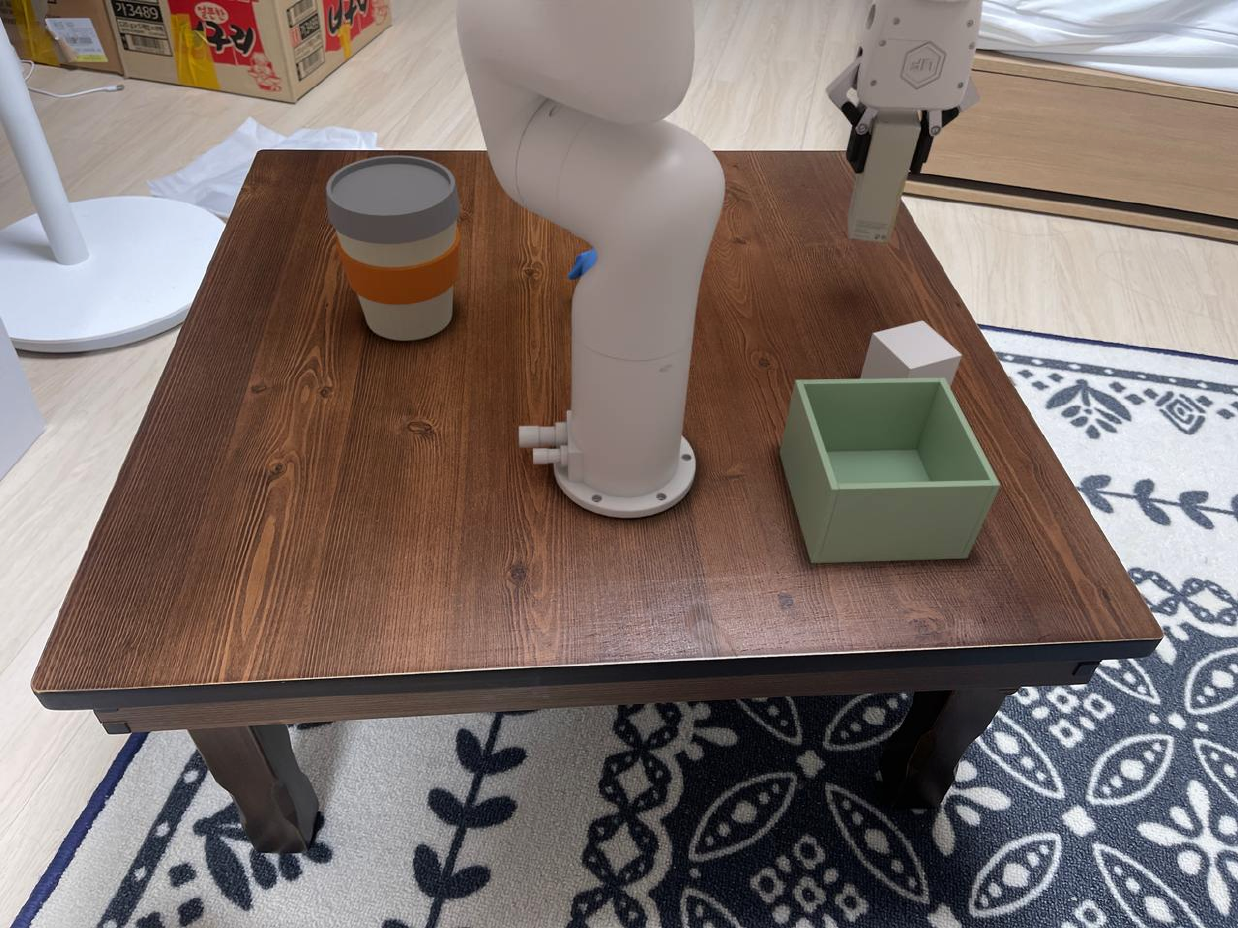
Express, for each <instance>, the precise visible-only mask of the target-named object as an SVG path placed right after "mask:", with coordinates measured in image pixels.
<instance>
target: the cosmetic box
mask: <svg viewBox="0 0 1238 928" xmlns="http://www.w3.org/2000/svg"><path fill="white" fill-rule="evenodd" d="M918 111H919V110H899V109H880V110H879V111H878V113H877V115H876V117H875V119H874V120H873V122H872V124H871V126H870V129H869V133H870V134H871V136H872V138H871V143H870V147H869V151H868V155H867V159H866V163H865V167H864V171H863V172H862V173H861V174H856V179H855V182H854V187H853V189H852V195H851V200H850V203H849V207H848V212H847V236H848V237H847V238H848V239H850V240H858V241H861V242H862V241H863V242H871V243H876V244H877V243H879V244H890V243H891V238H892V235H893V232H894V231H893V230H894V227H895V223H896V220H897V215H898V213H899V208H900V206H901V205H900V204H901V201H902V197H903V194H904V190H905V186H906V183H907V179H908V175H909V172H910V170H909V169H910V165H911V161H912V158H913V154H914V151H915V147H916V143H917V140H918V137H919V133H920V130H921V125H920V121H921V118H920V116H919V115H920V114H919V112H918Z"/></svg>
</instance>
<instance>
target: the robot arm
mask: <svg viewBox="0 0 1238 928" xmlns="http://www.w3.org/2000/svg"><path fill="white" fill-rule="evenodd" d="M983 2H984V0H872V3H871V4H870V8H869V10H868V12H867V15H866V18H865V20H864V23H863V27H862V30H861V33H860V37H859V40H858V43H857V46H856V50H855V52H854V53H855V54H854V56H853V57H854V58H853V61H852V62H851V63H850V64H849V65H847V67H846V68H845V69H844V70H843V71H842V72H841V73H840V74H839V75H838V76H836V78H835V79H834V80H833V81H832V82H830V83H829V84H828V85H827V87H826V88H825V94H826V96H827V97H828V99H829V100H830V102H832V104H834V106H835V107H836V108H837V109H838V110H839V111H840V112H841V113H842V114H843V115H844V117H845V118H846V119H847V121H848V123H849V124H850V125H851V129H850V134H849V137H848V143H847V146H846V151H845V159H846V161H847V162H848V163H849V165H850V167H851V169H852V170H853V172H854V174H855V175H857V174H861V173H862V172H863V171H864V167H865V163H866V159H867V155H868V151H869V147H870V143H871V138H872V136H871V134H870V133H869V129H870V126H871V124H872V122H873V120H874V119H875V117H876V115H877V113H878V111H879V110H880V109H899V110H917V111H920V114H919V115H920V125H921V130H920V133H919V137H918V140H917V143H916V147H915V151H914V154H913V158H912V161H911V165H910V169H909V172H910V173H911V174H912V175H913V176H919V175H920V174H921V172H922V169H923V165H924V164H926V163H927V162H928V160H929V156H930V153H931V149H932V146H933V142H934V139H935V137H938V136H939V135H940V134H941V133H942V130H943V128H945V127H946V126H947V125H948V124H950V123H951V122H953V121H954V120H955V119H957V117H959V115H960V114H961V113H964V112H965V111H966V110H968V109H969V108H971V107H973V106H974V105H976V104H977V103H978V102H979V101H980V94H979V92H978V90H977V88H976V86H975V84H974V81H973V79H972V77H971V73H972V68H973V64H974V59H975V55H976V50H977V45H978V40H979V33H980V27H981V22H982V21H981V20H982V12H983V5H984V4H983ZM456 29H457V37H458V45H459V47H460V52H461V56H462V61H463V65H464V69H465V73H466V77H467V80H468V85H469V89H470V93H471V95H472V99H473V104H474V108H475V110H476V114H477V118H478V123H479V126H480V130H481V133H482V136H483V140H484V144H485V147H486V152H487V155H488V158H489V161H490V164H491V168H492V171H493V173H494V175H495V177H496V179H497V181H498V183H499V185H500V186H501V188H502V190H503V191H504V192H505V194H506V195H507V196H508V197H509V198H510V199H511V200H512V201H514V203H516V204H518V205H519V206H521V207H522V208H524V209H525V210H527V211H529V212H531V213H533V214H535V215H536V216H538V217H540V218H542V219H544V220H546V221H548V222H550V223H552V224H554V225H556V226H557V227H560V228H561V229H564V230H565V231H567V232H569V233H571V234H572V235H574V236H575V237H577V238H579V239H581V240H583V241H585V242H586V243H588V245H590V246H591V247H592V248H594V249H595V251H596V255H597V259H596V263H595V264H594V265H593V266H592V267H591V268H590V269H589V270H588V271H587V272H586V273H585V274H584V275H583V276H582V277H581V276H580V278H579V280H578V282H577V283H576V285H575V289H574V291H573V293H572V301H571V384H570V385H571V393H570V394H571V395H570V397H571V398H570V399H571V401H570V402H571V403H570V404H571V407H570V409H568V410H566V421H556V422H555V424H554V426H540V425H519V426H518V448H519V449H531V448H532V465H548V464H553V474H554V478H555V480H556V482H557V483H556V484H557V485H558V487H559V488H560V489H561V491H562V492H563V493H564V495H566V496H567V497H568V498H569V499H570V500H571V501H572V502H574V503H575V504H577V505H578V506H580V507H581V508H583V509H585V510H588V511H590V512H593V513H594V514H597V515H602V516H606V517H611V518H621V519H633V518H634V519H635V518H636V519H637V518H642V517H648V516H653V515H655V514H660V513H662V512H664V511H666V510H668V509H670V508H671V507H673V506H675V505H677V504H678V503H679V502H681V500H683V499H684V498H685V496H686V495H687V494H688V493H689V491H690V490H691V488H692V486H693V483H694V480H695V474H696V467H697V463H696V456H695V452H694V450H693V448H692V446H691V444H690V442H689V441H688V440H687V439H686V438H685V437H684V436H683V427H684V419H685V409H686V402H687V392H688V385H689V376H690V367H691V358H692V350H693V342H694V333H695V322H696V313H697V306H698V300H699V299H698V298H699V293H700V286H701V281H702V277H703V276H702V275H703V271H704V268H705V265H706V261H707V256H708V253H709V250H710V247H711V245H712V240H713V237H714V236H715V235H714V234H715V232H716V229H717V225H718V223H719V221H720V217H721V214H722V210H723V206H724V202H725V201H724V200H725V196H726V179H725V173H724V169H723V167H722V164H721V162H720V161H719V159H718V157H717V156H716V155H715V153H714V151H713V150H711V148H710V147H709V146H708V145H707V144H706V143H705V142H704V141H703V140H701V139H700V138H699V137H698V136H696V135H695V134H694V133H693V134H692V133H691V132H690V131H688V130H686V129H685V128H682V127H681V126H679V125H677V124H675V123H672V122H670V121H668V120H666V119H665V118H667V117H668V116H670V115H671V114H672V113H673V112H674V111H676V109H678V108H679V106H680V105H681V104H682V103H683V101H684V99H685V98H686V95H687V93H688V90H689V88H690V84H691V82H692V77H693V71H694V67H695V66H694V65H695V53H696V52H695V50H696V49H695V48H696V40H695V37H696V35H695V9H694V0H457V2H456ZM850 89H853V90H854V91H856V96H857V99H858V100H857V101H856V103H855V104H854V102H853V101H852V99H851V98H849V96H848V95H847V94H848V92H849V90H850ZM540 447H545V448H540ZM547 447H555V448H547Z"/></svg>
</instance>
